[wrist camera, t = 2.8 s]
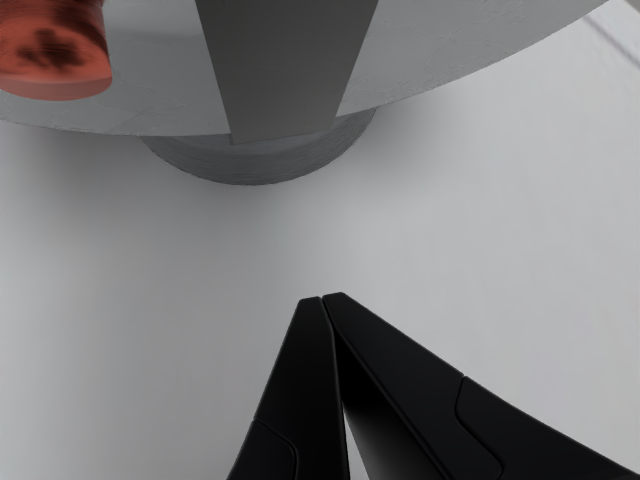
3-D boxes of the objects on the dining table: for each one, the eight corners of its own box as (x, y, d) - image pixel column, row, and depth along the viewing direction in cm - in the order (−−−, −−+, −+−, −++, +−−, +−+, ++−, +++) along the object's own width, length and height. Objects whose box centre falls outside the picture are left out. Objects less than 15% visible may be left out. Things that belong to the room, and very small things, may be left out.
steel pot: (473, 171, 25) (554, 69, 17) (60, 236, 22) (-58, 153, 15) (401, -56, 29) (440, -217, 22) (50, -20, 27) (-45, -185, 19)
